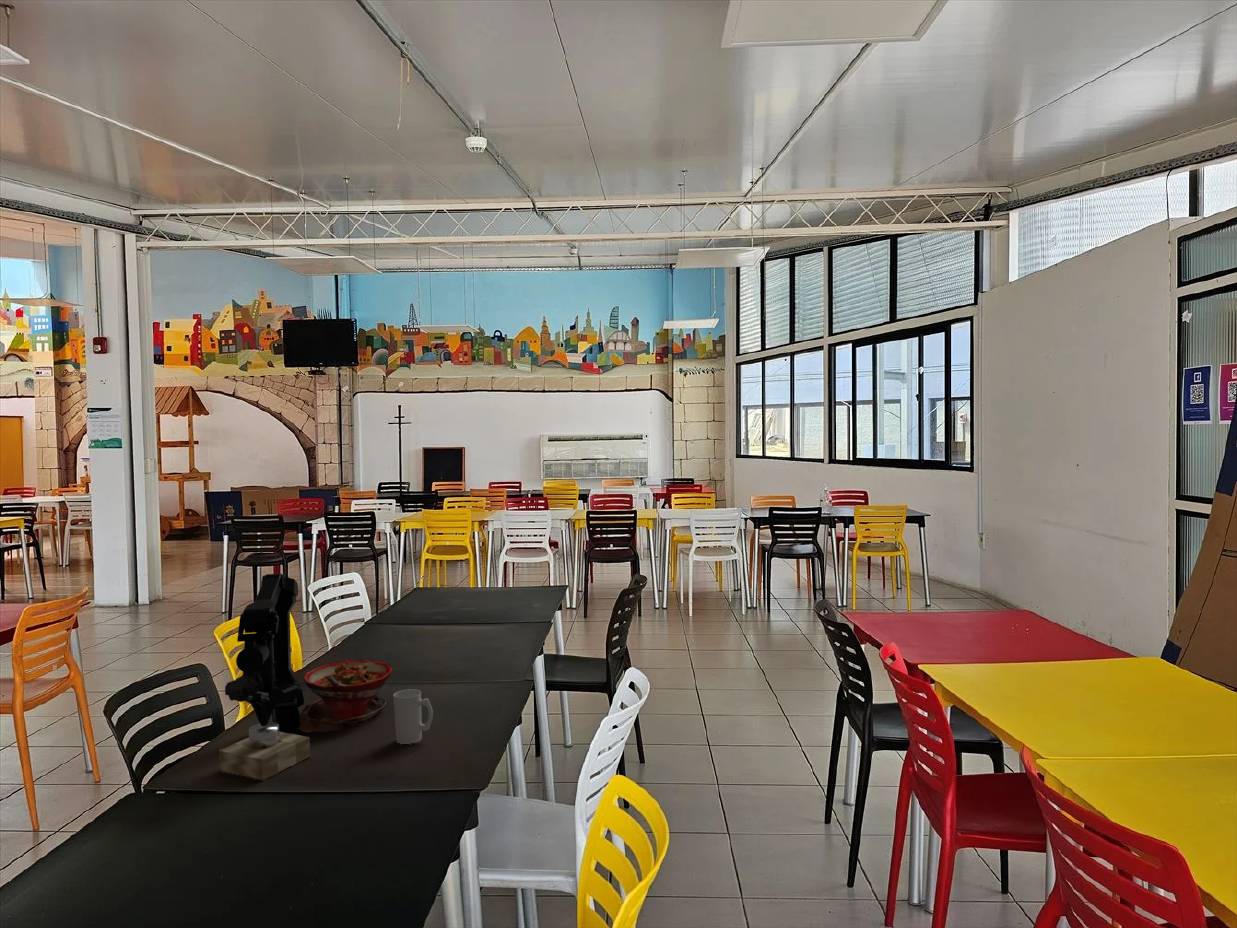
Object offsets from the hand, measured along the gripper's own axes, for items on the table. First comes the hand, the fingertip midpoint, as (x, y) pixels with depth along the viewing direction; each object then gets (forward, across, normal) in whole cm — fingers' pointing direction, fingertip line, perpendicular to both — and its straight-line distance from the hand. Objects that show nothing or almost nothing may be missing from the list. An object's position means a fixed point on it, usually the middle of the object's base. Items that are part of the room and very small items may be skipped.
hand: (263, 725), depth 194 cm
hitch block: (+9, 0, 0) cm, 9 cm away
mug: (+10, +24, +25) cm, 36 cm away
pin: (+9, 0, 0) cm, 9 cm away
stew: (+10, -6, +32) cm, 34 cm away
